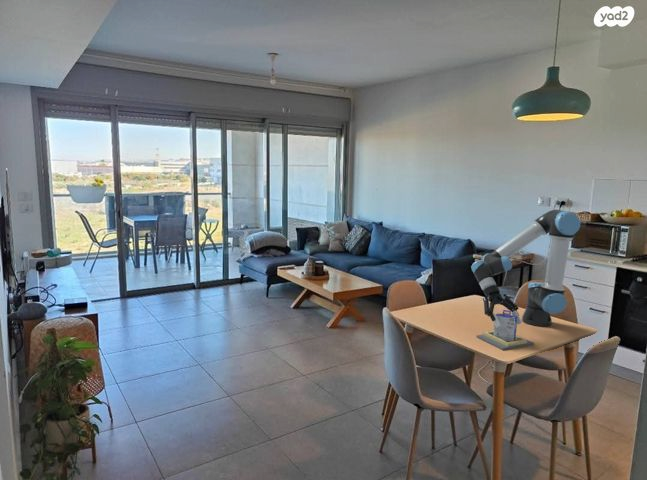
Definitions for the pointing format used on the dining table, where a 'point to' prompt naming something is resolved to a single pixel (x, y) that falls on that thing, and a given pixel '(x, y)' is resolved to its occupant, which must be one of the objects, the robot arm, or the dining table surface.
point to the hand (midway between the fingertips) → (509, 324)
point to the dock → (504, 344)
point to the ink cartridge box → (506, 326)
